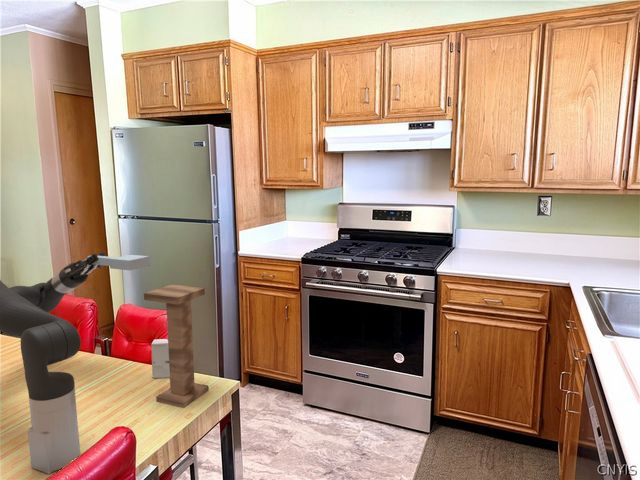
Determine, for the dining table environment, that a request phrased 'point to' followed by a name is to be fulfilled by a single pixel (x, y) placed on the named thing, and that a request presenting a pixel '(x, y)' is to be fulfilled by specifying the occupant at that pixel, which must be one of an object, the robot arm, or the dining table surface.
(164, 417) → the dining table surface
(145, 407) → the dining table surface
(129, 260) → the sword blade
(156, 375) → the skincare box
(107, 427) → the dining table surface
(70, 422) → the robot arm
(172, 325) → the brown wooden stand
